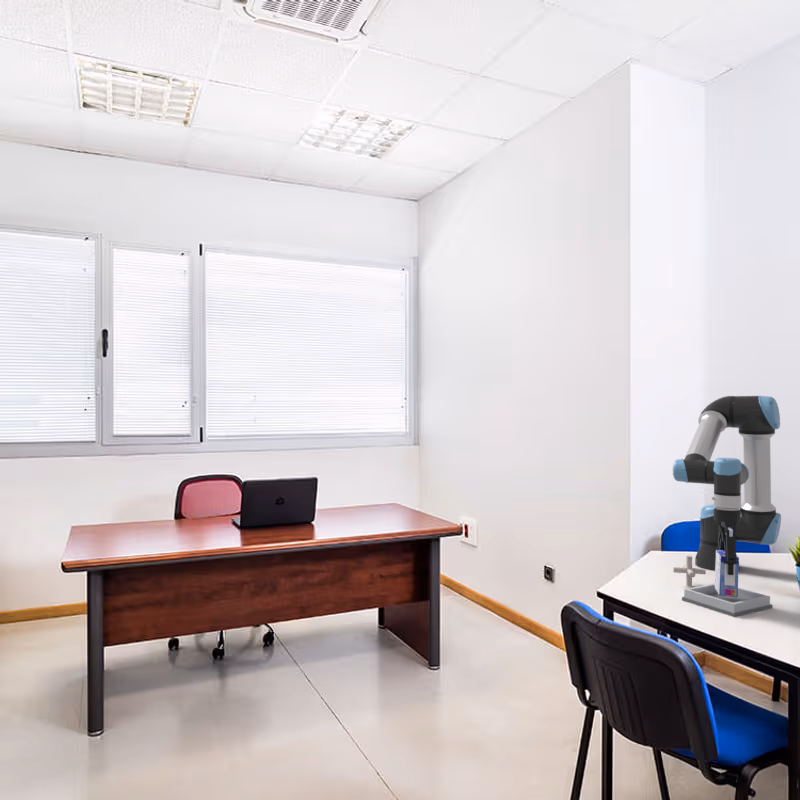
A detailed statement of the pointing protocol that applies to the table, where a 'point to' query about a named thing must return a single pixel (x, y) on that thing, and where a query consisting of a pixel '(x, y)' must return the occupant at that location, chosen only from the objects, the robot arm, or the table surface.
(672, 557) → the table surface
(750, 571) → the table surface
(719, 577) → the ink cartridge box
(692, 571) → the pipe connector
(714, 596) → the cartridge dock
